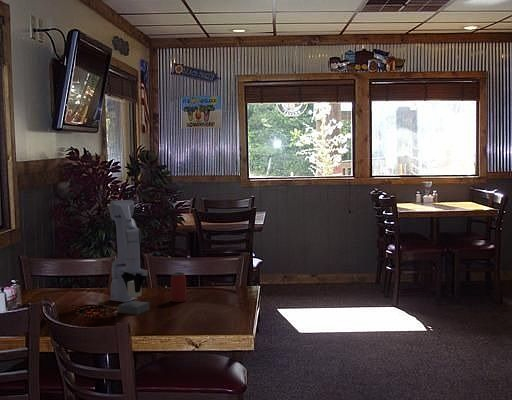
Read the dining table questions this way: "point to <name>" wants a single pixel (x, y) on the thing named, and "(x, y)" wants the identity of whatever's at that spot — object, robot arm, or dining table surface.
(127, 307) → the plate
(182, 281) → the beer can
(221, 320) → the dining table surface
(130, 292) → the cream block
